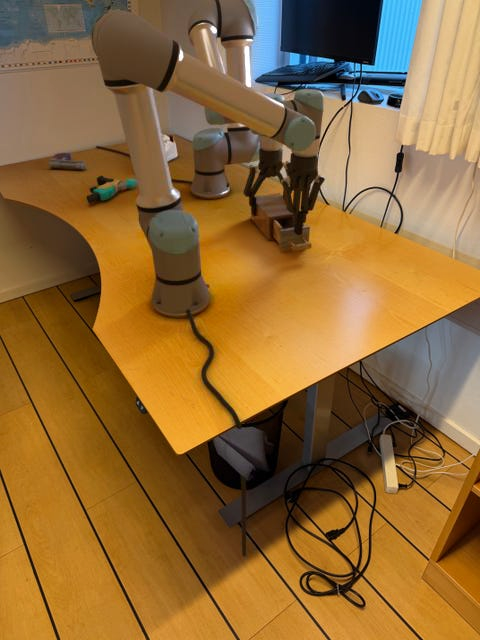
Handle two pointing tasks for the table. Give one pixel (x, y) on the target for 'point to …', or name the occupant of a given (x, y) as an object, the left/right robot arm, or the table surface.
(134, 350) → the table surface
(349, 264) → the table surface
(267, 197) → the cabinet
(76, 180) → the table surface
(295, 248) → the drawer
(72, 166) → the toy gun
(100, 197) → the toy gun
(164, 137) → the sneaker
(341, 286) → the table surface
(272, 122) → the left robot arm
